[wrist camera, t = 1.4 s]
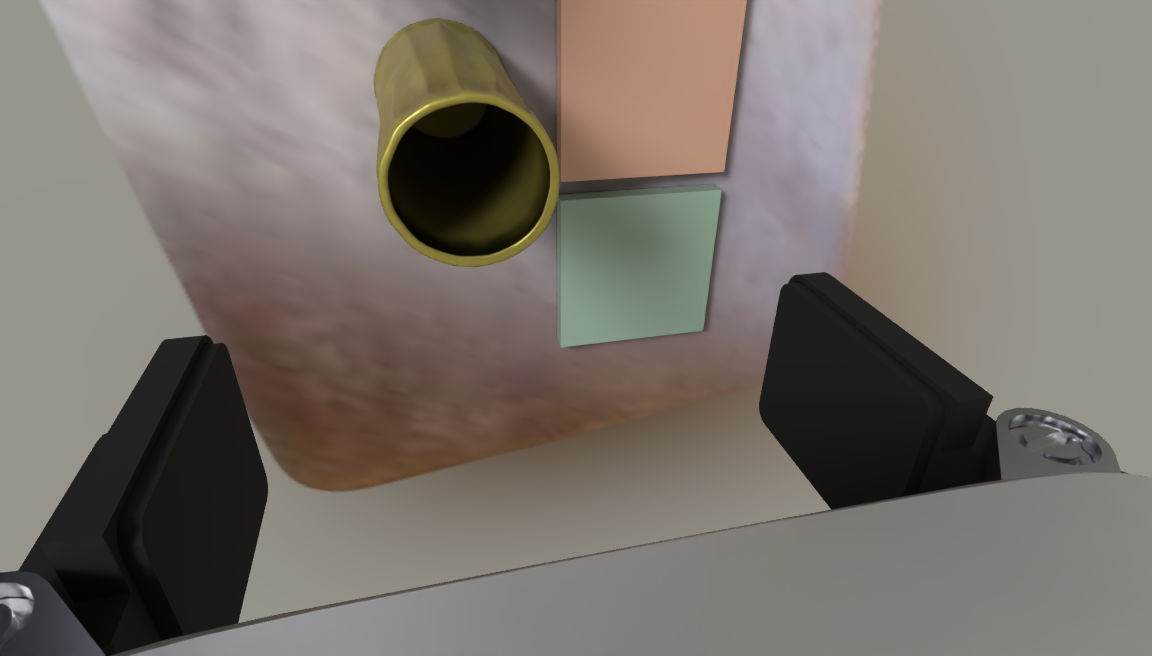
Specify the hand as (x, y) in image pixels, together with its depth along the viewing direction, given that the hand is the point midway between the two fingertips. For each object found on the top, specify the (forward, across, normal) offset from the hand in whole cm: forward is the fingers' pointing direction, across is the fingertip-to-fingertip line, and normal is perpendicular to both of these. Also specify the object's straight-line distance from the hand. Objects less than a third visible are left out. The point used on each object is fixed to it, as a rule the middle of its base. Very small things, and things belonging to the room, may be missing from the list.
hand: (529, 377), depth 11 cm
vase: (+24, 0, -1) cm, 24 cm away
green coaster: (+24, -10, +9) cm, 27 cm away
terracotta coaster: (+23, -10, -1) cm, 25 cm away
